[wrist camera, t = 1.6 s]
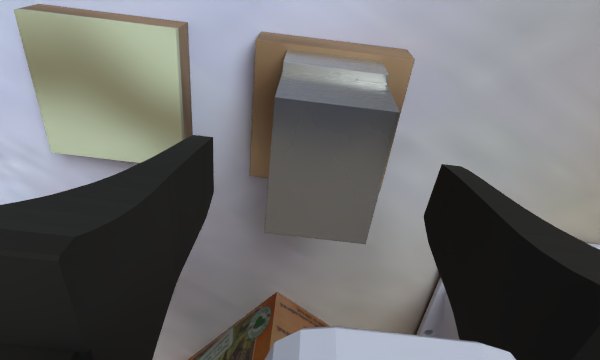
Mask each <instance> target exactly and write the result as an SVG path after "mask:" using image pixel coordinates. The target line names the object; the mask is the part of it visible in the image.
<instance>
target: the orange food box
mask: <svg viewBox="0 0 600 360" xmlns="http://www.w3.org/2000/svg"><path fill="white" fill-rule="evenodd" d="M315 327H330V326H329V325H327V324H326V323H324V322H323V321H321V320H320V319H318V318H317V317H315V316H313V315H312V314H310V313H309V312H307V311H306V310H304V309H303V308H301V307H300V306H298V305H296V304H295V303H293V302H292V301H290V300H289V299H287V298H286V297H284V296H283V295H281V294H279V293H278V292H276V293H275V294H274V295H272V296H271V297H270V298H268V299H267V300H266V301H264V302H263V303H262V304H261V305H259V306H258V307H257V308H255V309H254V310H253V311H251V312H250V313H249V314H247V315H246V316H245V317H244V318H242V319H241V320H240V321H238V322H237V323H236V324H234V325H233V326H232V327H230V328H229V329H228V330H227V331H225V332H224V333H223V334H221V335H220V336H219V337H217V338H216V339H215V340H213V341H212V342H211V343H210V344H208V345H207V346H206V347H204V348H203V349H202V350H200V351H199V352H198V353H196V354H195V355H194V356H193V357H191V358H190V359H189V360H265V358H266V356H267V354H268V353H269V351H270V349H271V348H272V346H273V344H274V342H276V341H278V340H280V339H282V338H284V337H286V336H288V335H290V334H293V333H295V332H297V331H299V330H301V329H303V328H315Z"/></svg>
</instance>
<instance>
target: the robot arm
mask: <svg viewBox="0 0 600 360" xmlns="http://www.w3.org/2000/svg"><path fill="white" fill-rule="evenodd" d="M213 193H214V179H213V137H205V136H197V135H193V136H190V137H188V138H186V139H184V140H182V141H181V142H179V143H177V144H175V145H173V146H172V147H170V148H168V149H166V150H164V151H163V152H161V153H159V154H157V155H155V156H154V157H152V158H150V159H148V160H146V161H143V162H141V163H139V164H137V165H135V166H133V167H131V168H129V169H127V170H125V171H123V172H120V173H118V174H115V175H113V176H110V177H108V178H105V179H102V180H100V181H97V182H94V183H91V184H88V185H84V186H81V187H78V188H74V189H71V190H67V191H64V192H60V193H57V194H53V195H49V196H44V197H40V198H35V199H30V200H25V201H20V202H15V203H10V204H4V205H0V360H152V359H153V355H154V352H155V348H156V345H157V341H158V338H159V335H160V332H161V329H162V325H163V322H164V319H165V316H166V313H167V310H168V307H169V304H170V301H171V298H172V295H173V292H174V289H175V286H176V283H177V280H178V278H179V276H180V273H181V271H182V269H183V266H184V264H185V262H186V260H187V258H188V256H189V254H190V251H191V249H192V247H193V245H194V243H195V241H196V239H197V237H198V234H199V232H200V230H201V228H202V226H203V223H204V221H205V219H206V216H207V213H208V210H209V207H210V203H211V200H212V196H213ZM424 221H425V227H426V233H427V237H428V242H429V245H430V248H431V251H432V254H433V257H434V260H435V263H436V266H437V268H438V271H439V274H440V280H439V282H438V284H437V287H436V289H435V291H434V294H433V296H432V299H431V301H430V303H429V306H428V308H427V310H426V313H425V315H424V317H423V320H422V322H421V324H420V327H419V329H418V332H417V334H416V335H410V334H400V333H391V332H382V331H372V330H363V329H354V328H345V327H335V326H332V327H315V328H303V329H301V330H299V331H297V332H295V333H293V334H290V335H288V336H286V337H284V338H282V339H280V340H278V341H276V342H274V344H273V346H272V348H271V349H270V351H269V353H268V354H267V356H266V358H265V360H600V245H597V244H589V243H585V242H583V241H581V240H579V239H577V238H575V237H573V236H571V235H569V234H568V233H566V232H564V231H562V230H560V229H558V228H556V227H554V226H553V225H551V224H549V223H548V222H546V221H544V220H542V219H541V218H539V217H538V216H536V215H534V214H533V213H531V212H530V211H528V210H526V209H525V208H523V207H522V206H520V205H519V204H517V203H516V202H514V201H513V200H511V199H510V198H508V197H507V196H505V195H504V194H503V193H501V192H500V191H498V190H497V189H495V188H494V187H493V186H491V185H490V184H488V183H487V182H485V181H484V180H482V179H481V178H480V177H478V176H477V175H475V174H474V173H472V172H470V171H469V170H467V169H465V168H463V167H461V166H453V165H444V164H442V165H441V168H440V171H439V174H438V177H437V180H436V182H435V185H434V188H433V191H432V194H431V197H430V199H429V202H428V205H427V208H426V211H425V214H424Z"/></svg>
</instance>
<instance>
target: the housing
mask: <svg viewBox="0 0 600 360" xmlns="http://www.w3.org/2000/svg"><path fill="white" fill-rule="evenodd" d="M388 77H389V74H388V72H387V70H386V68H385V66H384V64H383V62H382V61H379V60H371V59H363V58H355V57H347V56H338V55H330V54H322V53H314V52H306V51H298V50H290V49H287V52H286V55H285V59H284V62H283V71H282V75H281V78H280V82H279V85H278V88H277V92H276V95H275V102H274V115H273V128H272V141H271V154H270V167H269V180H268V193H267V206H266V218H265V231H264V233H273V234H282V235H290V236H299V237H308V238H316V239H325V240H334V241H342V242H351V243H360V244H366V240H367V236H368V232H369V229H370V225H371V221H372V217H373V213H374V210H375V206H376V202H377V198H378V194H379V191H380V187H381V183H382V179H383V175H384V172H385V168H386V164H387V160H388V156H389V152H390V149H391V145H392V141H393V137H394V133H395V130H396V126H397V122H398V118H399V114H400V111H399V109H398V107H397V105H396V102H395V100H394V98H393V96H392V94H391V91H390V89H389V87H388V85H387V81H388Z"/></svg>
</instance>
